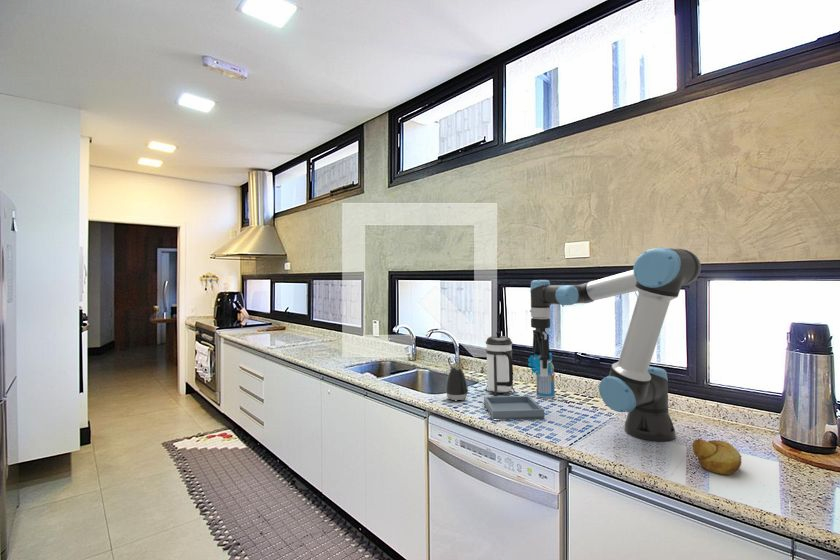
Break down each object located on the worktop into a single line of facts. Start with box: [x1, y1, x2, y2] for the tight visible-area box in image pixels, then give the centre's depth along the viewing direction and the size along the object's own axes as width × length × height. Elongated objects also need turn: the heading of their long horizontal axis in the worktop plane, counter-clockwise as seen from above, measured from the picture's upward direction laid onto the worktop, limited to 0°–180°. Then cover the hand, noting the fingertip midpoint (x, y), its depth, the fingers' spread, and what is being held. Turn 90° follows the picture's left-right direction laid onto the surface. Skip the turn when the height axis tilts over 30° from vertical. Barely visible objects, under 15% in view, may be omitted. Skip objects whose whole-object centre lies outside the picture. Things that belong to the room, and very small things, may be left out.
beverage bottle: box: [535, 352, 556, 399], centre depth 183 cm, size 8×8×20 cm
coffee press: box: [484, 330, 516, 397], centre depth 190 cm, size 17×16×30 cm
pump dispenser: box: [445, 366, 469, 401], centre depth 181 cm, size 10×10×15 cm
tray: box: [483, 395, 545, 420], centre depth 162 cm, size 20×20×4 cm
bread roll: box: [691, 438, 743, 475], centre depth 109 cm, size 13×10×8 cm
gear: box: [527, 354, 553, 375], centre depth 160 cm, size 11×6×10 cm
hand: (540, 373), depth 159 cm, fingers closed on gear, 8 cm apart
